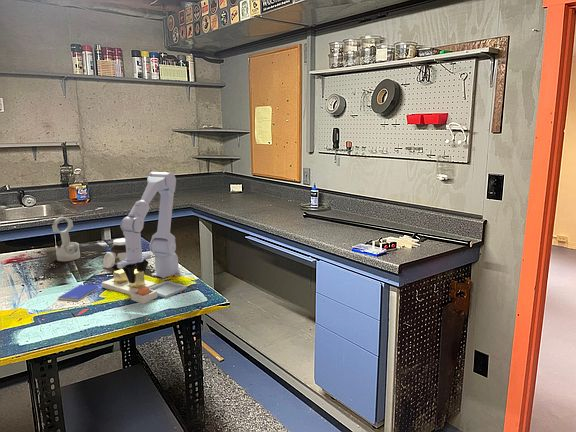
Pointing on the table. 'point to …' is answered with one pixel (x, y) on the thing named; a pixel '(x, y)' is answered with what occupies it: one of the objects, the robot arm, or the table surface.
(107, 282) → the frame
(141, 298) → the button housing
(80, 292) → the hard drive
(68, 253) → the engine component
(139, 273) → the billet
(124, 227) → the robot arm
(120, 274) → the block
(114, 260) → the spread jar
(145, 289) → the button
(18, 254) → the table surface
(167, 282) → the tray
